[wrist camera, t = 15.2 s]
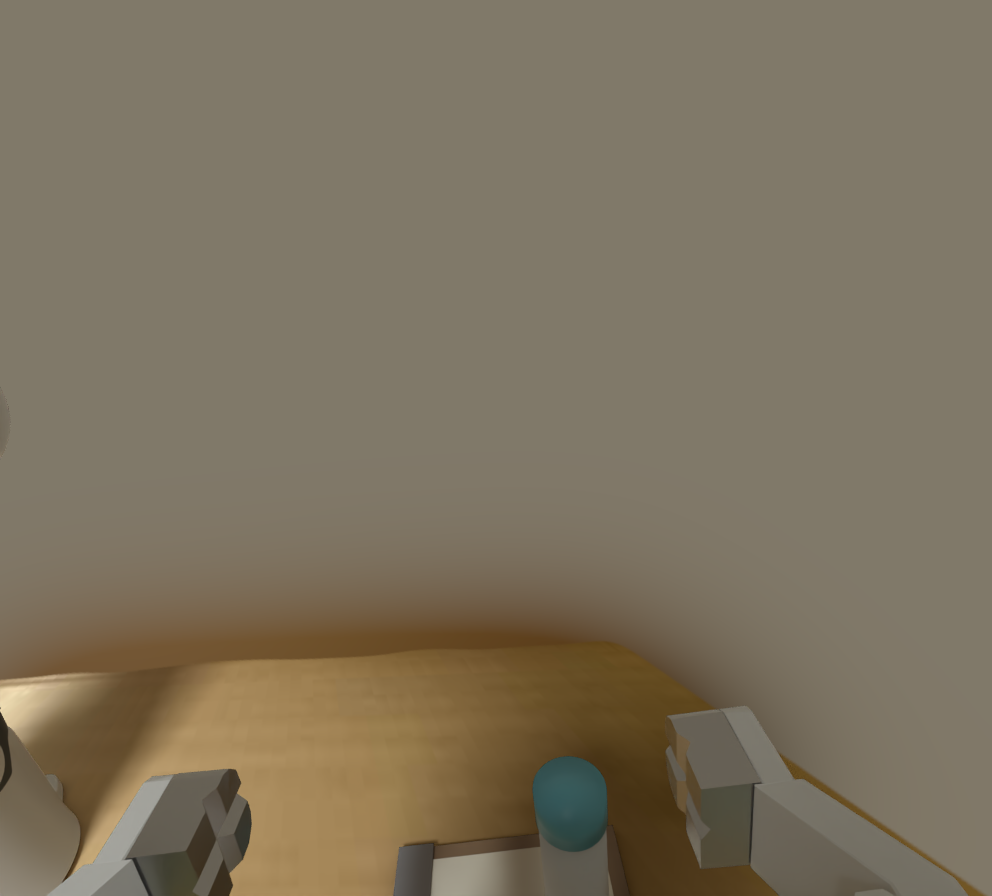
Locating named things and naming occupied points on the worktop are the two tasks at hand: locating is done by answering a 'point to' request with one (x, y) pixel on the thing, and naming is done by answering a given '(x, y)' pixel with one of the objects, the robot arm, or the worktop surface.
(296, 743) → the worktop surface
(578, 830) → the water bottle
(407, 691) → the worktop surface
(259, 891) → the worktop surface
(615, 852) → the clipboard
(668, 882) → the worktop surface
